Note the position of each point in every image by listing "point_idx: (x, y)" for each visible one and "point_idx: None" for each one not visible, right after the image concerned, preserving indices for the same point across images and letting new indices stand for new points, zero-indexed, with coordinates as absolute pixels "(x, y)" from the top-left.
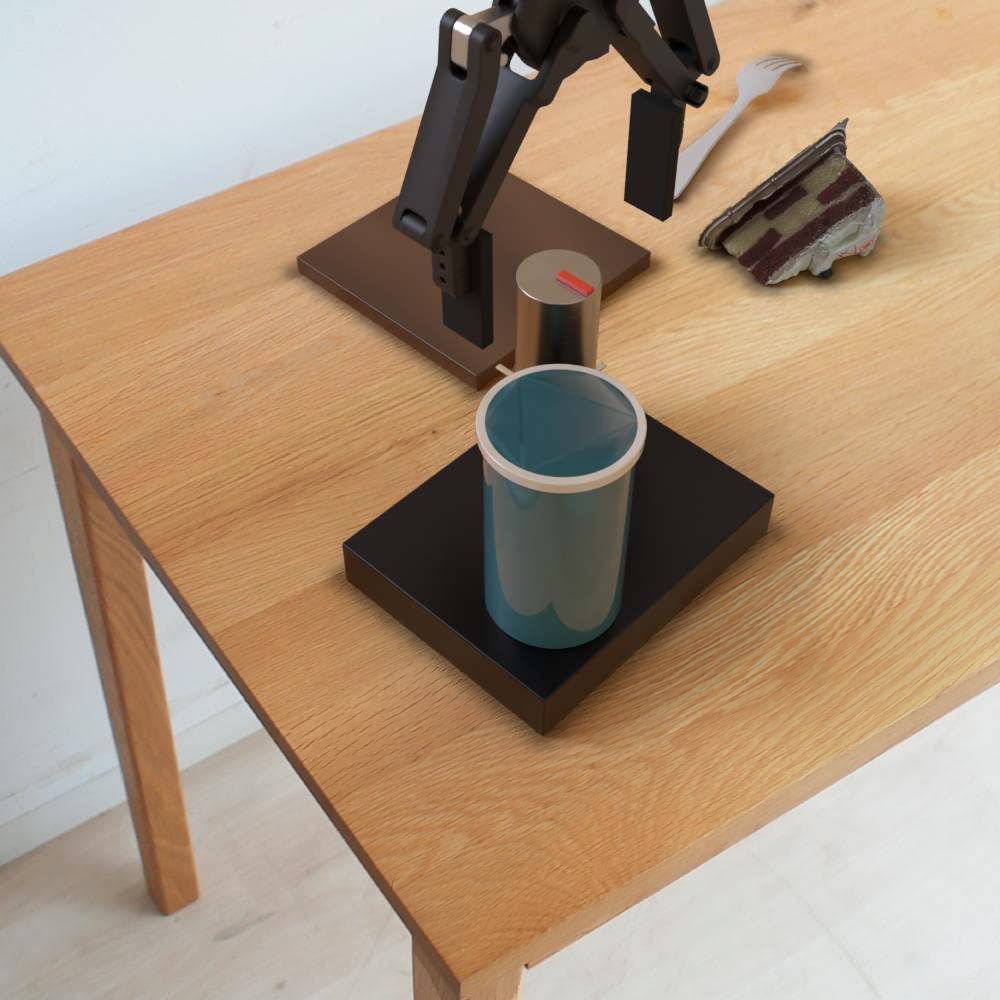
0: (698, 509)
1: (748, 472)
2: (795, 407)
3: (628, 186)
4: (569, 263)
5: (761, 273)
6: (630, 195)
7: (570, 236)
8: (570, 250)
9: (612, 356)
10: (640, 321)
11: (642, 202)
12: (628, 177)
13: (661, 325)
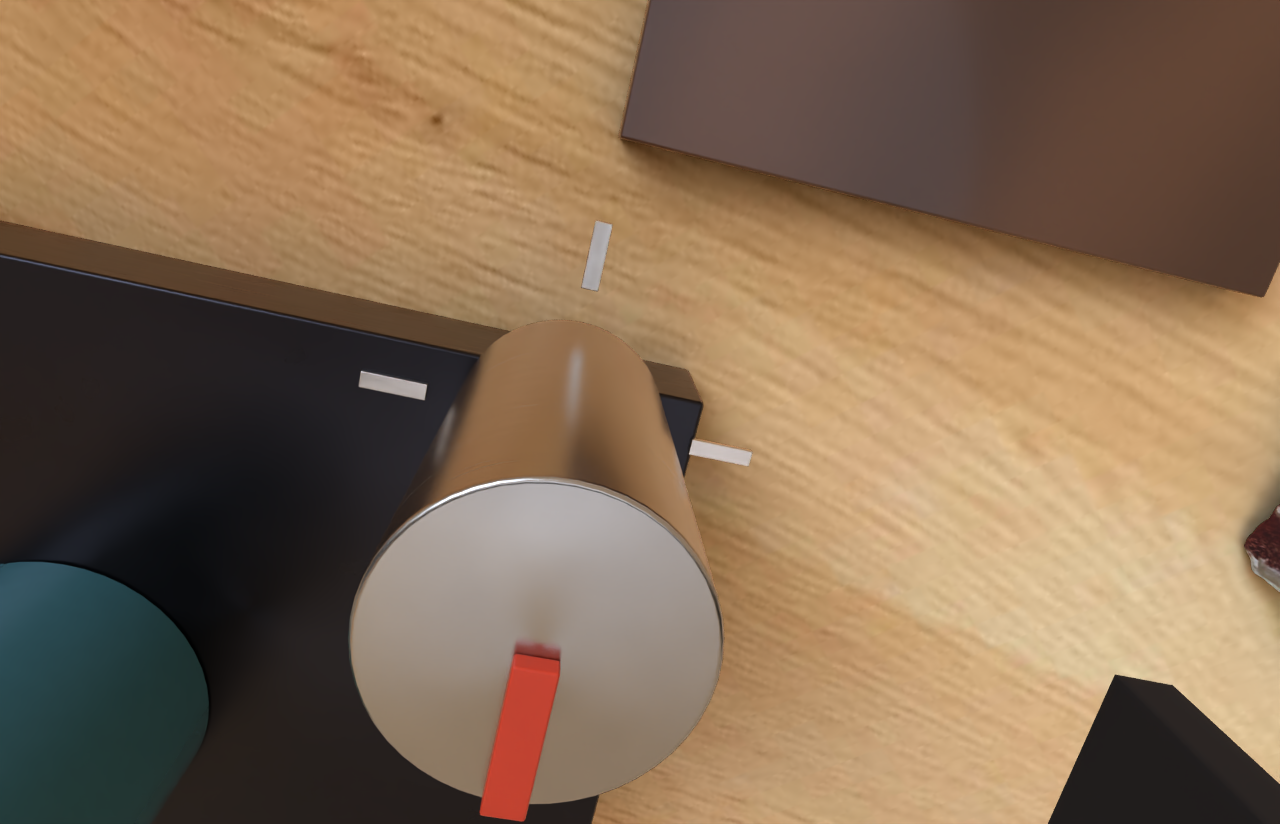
0: (448, 810)
1: (693, 733)
2: (901, 733)
3: (1164, 750)
4: (637, 647)
5: (1273, 540)
6: (1127, 739)
7: (1261, 67)
8: (1202, 98)
9: (883, 364)
10: (1025, 363)
11: (1100, 793)
12: (1201, 784)
13: (1030, 410)
